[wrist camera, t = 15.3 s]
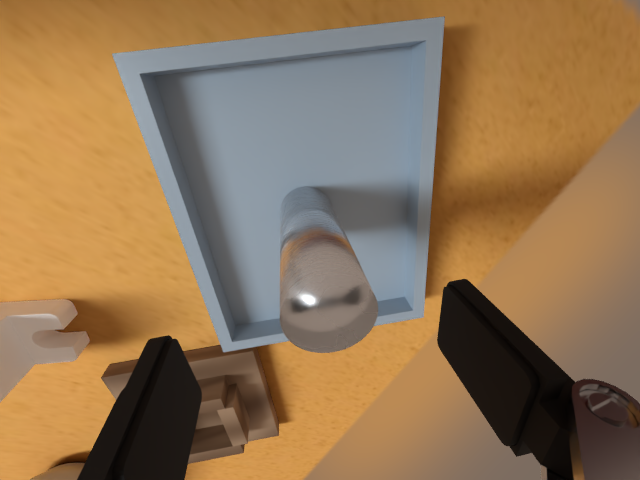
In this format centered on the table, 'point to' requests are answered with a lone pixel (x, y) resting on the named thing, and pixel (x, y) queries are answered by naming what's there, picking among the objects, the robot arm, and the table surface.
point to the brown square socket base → (220, 400)
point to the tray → (294, 157)
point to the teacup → (62, 472)
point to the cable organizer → (35, 338)
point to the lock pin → (320, 277)
